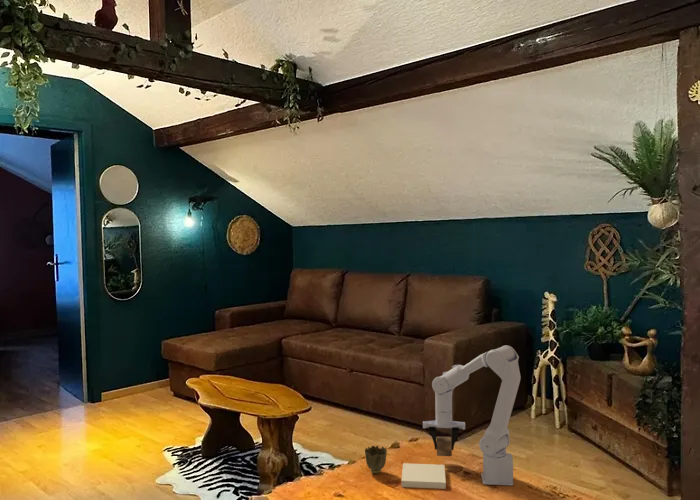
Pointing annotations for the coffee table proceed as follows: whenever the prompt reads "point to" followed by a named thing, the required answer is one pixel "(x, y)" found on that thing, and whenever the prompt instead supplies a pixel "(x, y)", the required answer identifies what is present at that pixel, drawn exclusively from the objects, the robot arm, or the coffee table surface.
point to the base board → (423, 476)
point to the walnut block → (444, 446)
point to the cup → (375, 458)
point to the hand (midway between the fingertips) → (444, 448)
